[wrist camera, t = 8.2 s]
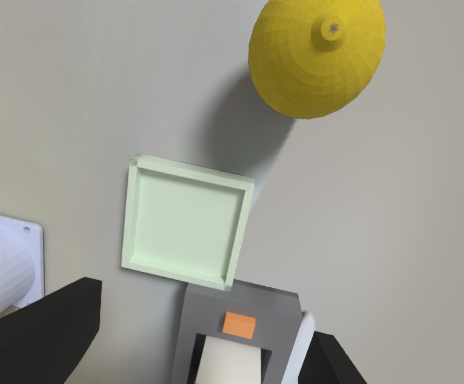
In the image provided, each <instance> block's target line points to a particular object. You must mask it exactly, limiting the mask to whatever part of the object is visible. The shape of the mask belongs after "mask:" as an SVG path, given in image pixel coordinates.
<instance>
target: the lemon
mask: <svg viewBox="0 0 464 384" xmlns="http://www.w3.org/2000/svg"><path fill="white" fill-rule="evenodd" d="M385 31H386V24H385V19H384V14H383V9H382V6H381V4H380V2H379V0H269V1H268V3H267V4H266V5H265V6H264V8H263V9H262V11H261V13H260V15H259V17H258V19H257V21H256V23H255V25H254V28H253V31H252V35H251V39H250V42H249V54H248V65H249V70H250V75H251V80H252V82H253V84H254V86H255V88H256V90H257V93H258V94H259V95H260V97H261V98H262V99H263V100H264V102H265V103H266V104H267V105H268V106H270V107H271V108H273V109H274V110H275V111H277V112H278V113H281V114H283V115H286V116H289V117H291V118H299V119H312V118H318V117H324V116H326V115H328V114H331V113H333V112H335V111H338V110H340V109H341V108H343V107H344V106H346V105H347V104H348V103H349V102H351V101H352V100H354V99H355V98H356V97H357V96H358V95H359V94H360V92H361V91H362V90H363V89H364V88H365V87H366V85H367V84H368V83H369V82H370V80H371V78H372V77H373V75H374V73H375V71H376V69H377V67H378V66H379V63H380V60H381V57H382V53H383V50H384V47H385Z"/></svg>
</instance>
